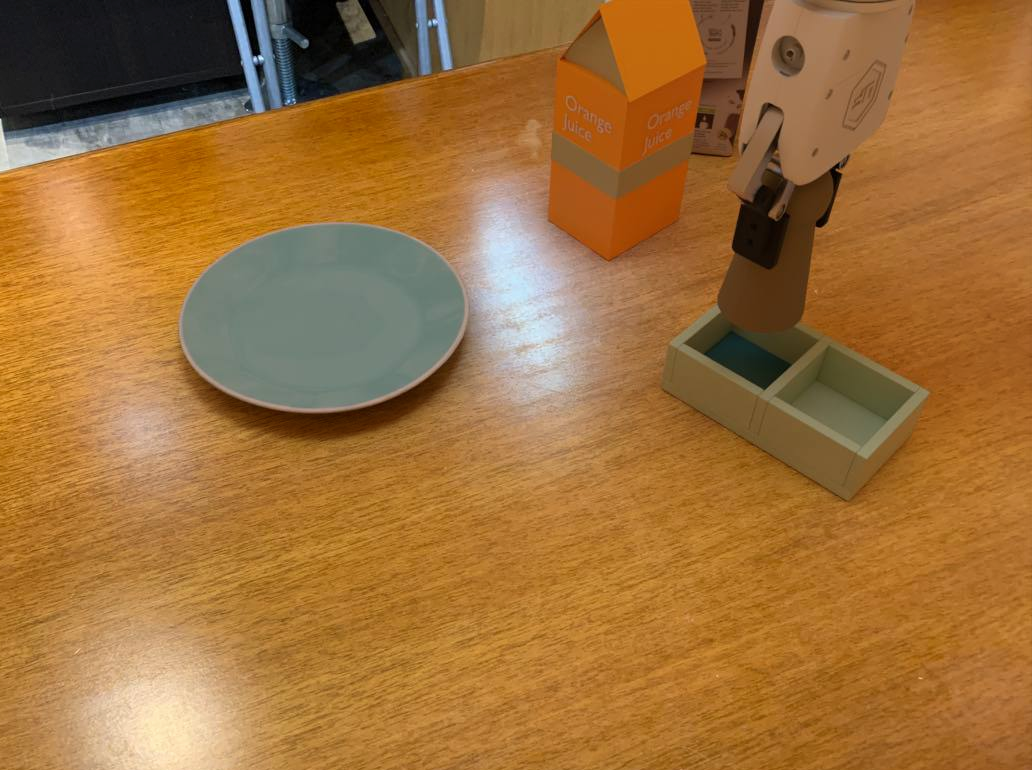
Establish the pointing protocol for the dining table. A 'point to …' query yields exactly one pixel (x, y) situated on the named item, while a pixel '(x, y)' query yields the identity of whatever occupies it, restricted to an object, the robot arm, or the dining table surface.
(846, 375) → the tray
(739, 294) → the brown pawn
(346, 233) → the plate
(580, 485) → the dining table surface
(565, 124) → the orange juice
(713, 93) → the coffee box
